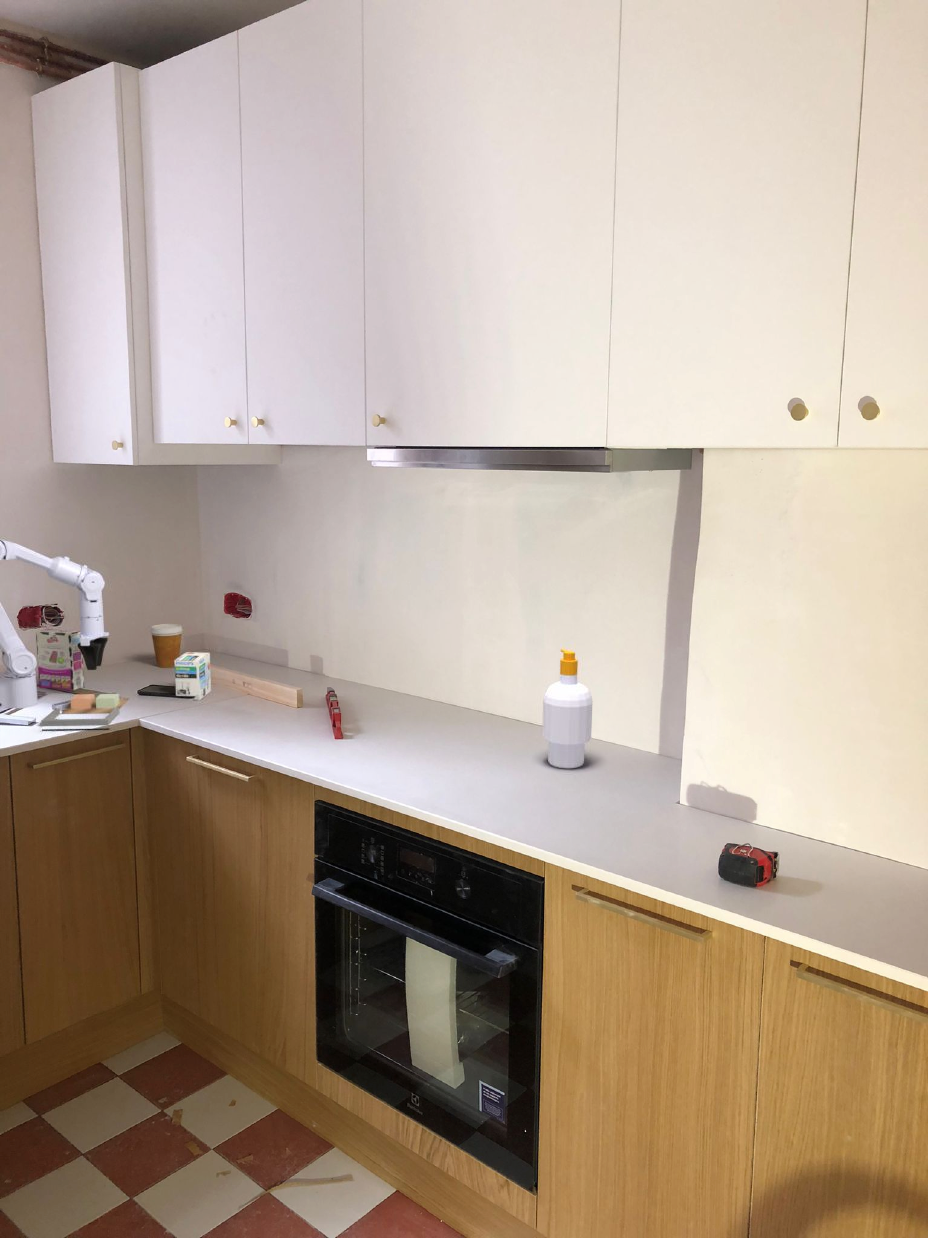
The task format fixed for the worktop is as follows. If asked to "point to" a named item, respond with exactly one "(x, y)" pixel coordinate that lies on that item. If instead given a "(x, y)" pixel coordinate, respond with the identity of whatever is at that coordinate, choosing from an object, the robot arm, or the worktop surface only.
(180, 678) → the light bulb box
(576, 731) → the soap bottle
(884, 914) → the worktop surface
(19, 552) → the robot arm
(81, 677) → the candy bar box
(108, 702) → the sage-green tile
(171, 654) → the disposable coffee cup
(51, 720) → the tray
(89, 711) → the walnut board
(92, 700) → the terracotta tile
